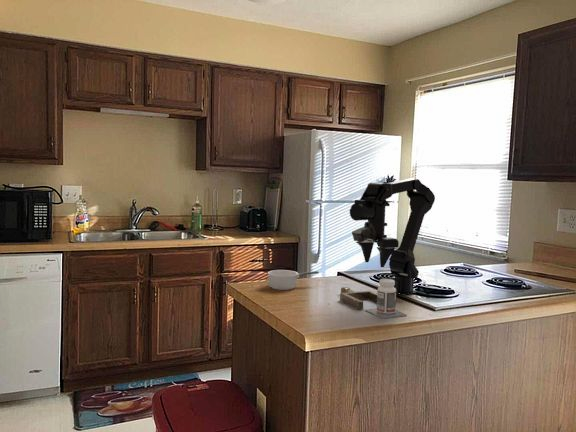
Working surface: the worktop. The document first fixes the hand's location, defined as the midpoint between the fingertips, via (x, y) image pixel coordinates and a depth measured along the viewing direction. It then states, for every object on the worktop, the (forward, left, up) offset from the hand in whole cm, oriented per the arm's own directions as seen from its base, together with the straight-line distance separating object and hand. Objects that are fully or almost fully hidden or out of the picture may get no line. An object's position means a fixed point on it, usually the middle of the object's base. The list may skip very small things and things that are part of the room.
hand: (374, 264), depth 165 cm
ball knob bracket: (+6, 0, -12) cm, 13 cm away
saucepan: (+19, -25, -12) cm, 34 cm away
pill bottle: (+6, +16, -12) cm, 21 cm away
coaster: (+6, +16, -12) cm, 21 cm away
